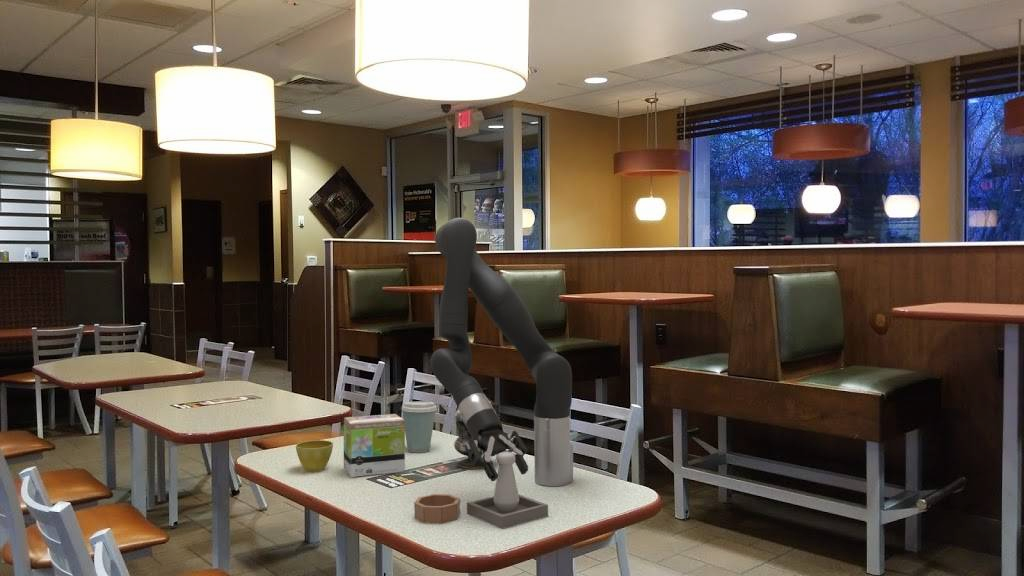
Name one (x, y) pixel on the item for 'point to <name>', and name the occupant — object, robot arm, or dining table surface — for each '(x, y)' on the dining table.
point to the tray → (523, 513)
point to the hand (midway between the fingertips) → (510, 475)
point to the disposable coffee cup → (418, 425)
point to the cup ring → (437, 508)
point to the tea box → (374, 445)
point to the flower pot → (314, 454)
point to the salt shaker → (506, 484)
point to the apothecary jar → (464, 443)
